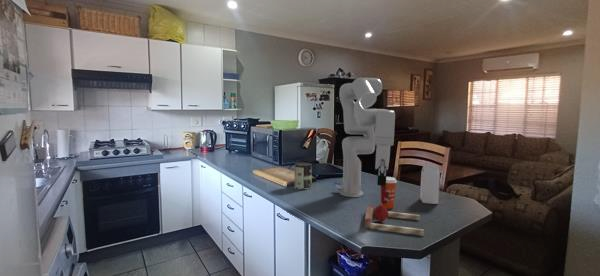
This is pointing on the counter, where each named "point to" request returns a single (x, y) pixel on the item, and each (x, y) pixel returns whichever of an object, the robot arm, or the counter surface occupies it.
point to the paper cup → (388, 193)
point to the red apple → (381, 213)
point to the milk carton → (430, 184)
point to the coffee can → (303, 175)
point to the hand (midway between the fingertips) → (381, 182)
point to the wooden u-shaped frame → (389, 227)
